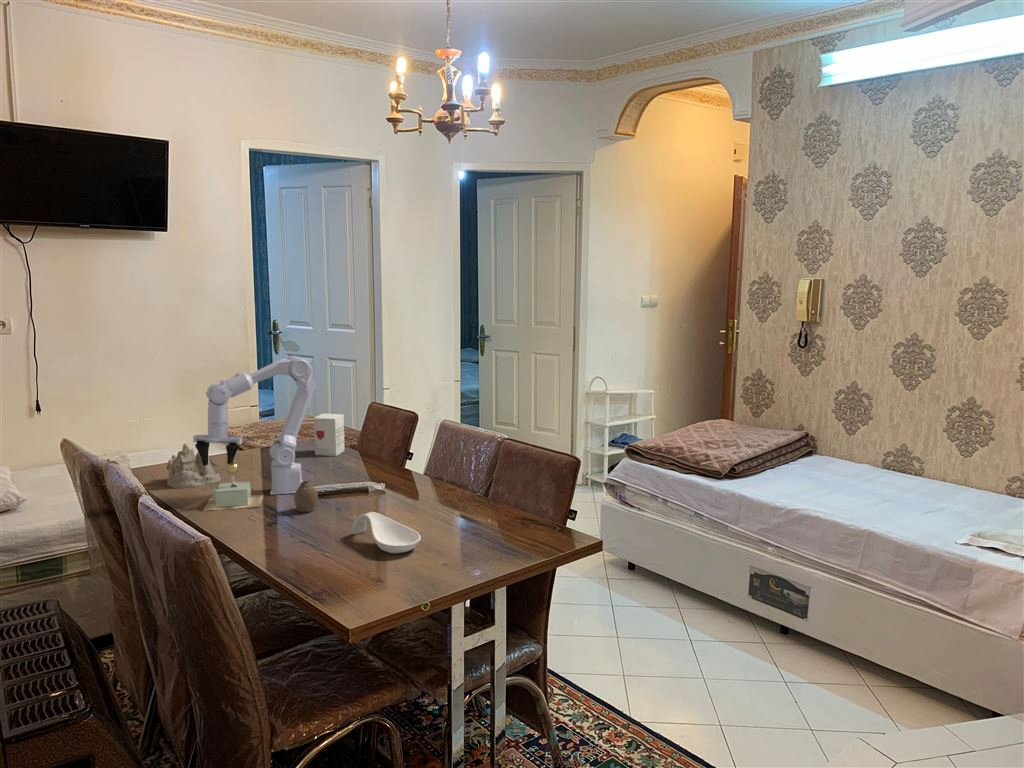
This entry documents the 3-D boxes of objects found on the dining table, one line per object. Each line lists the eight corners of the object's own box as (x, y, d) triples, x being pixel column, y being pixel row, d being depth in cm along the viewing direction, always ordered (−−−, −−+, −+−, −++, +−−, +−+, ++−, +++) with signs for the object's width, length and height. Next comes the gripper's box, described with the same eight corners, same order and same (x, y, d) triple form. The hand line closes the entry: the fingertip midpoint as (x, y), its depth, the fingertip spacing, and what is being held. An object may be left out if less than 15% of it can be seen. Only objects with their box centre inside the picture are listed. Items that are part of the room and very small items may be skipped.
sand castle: (224, 482, 251) (219, 439, 250) (172, 492, 242) (166, 447, 240) (213, 475, 264) (208, 433, 262) (163, 484, 255) (158, 441, 253)
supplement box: (314, 455, 288) (312, 417, 286) (323, 449, 297) (322, 413, 294) (336, 456, 287) (335, 418, 284) (345, 450, 295) (344, 413, 293)
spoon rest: (430, 549, 192) (429, 523, 191) (393, 562, 184) (393, 535, 183) (374, 528, 208) (373, 503, 207) (338, 539, 200) (337, 513, 199)
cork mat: (263, 495, 237) (263, 494, 237) (259, 507, 226) (259, 506, 226) (210, 499, 234) (210, 498, 234) (203, 511, 222) (203, 509, 222)
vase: (311, 514, 219) (310, 486, 218) (290, 513, 220) (288, 484, 219) (322, 507, 226) (321, 479, 224) (301, 506, 227) (300, 478, 226)
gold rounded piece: (246, 486, 233) (244, 460, 232) (243, 492, 227) (242, 466, 225) (223, 488, 231) (222, 462, 230) (220, 494, 225) (218, 467, 224)
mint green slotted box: (251, 496, 235) (250, 481, 234) (247, 505, 226) (247, 489, 225) (216, 498, 233) (215, 483, 232) (211, 507, 224) (210, 491, 223)
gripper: (188, 423, 226) (188, 467, 227) (236, 426, 225) (235, 470, 227) (198, 419, 233) (198, 462, 234) (244, 422, 232) (244, 464, 234)
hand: (217, 465), depth 231 cm, fingers open, 7 cm apart
